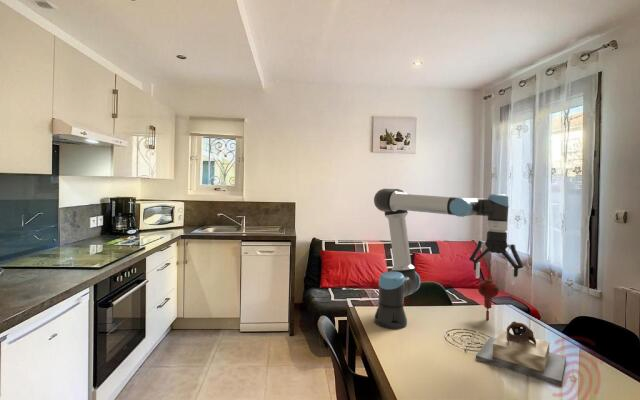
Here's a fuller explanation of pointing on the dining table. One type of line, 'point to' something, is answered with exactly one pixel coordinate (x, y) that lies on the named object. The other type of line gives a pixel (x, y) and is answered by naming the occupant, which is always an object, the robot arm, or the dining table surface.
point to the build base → (547, 375)
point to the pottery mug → (519, 333)
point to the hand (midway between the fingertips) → (494, 280)
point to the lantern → (488, 293)
